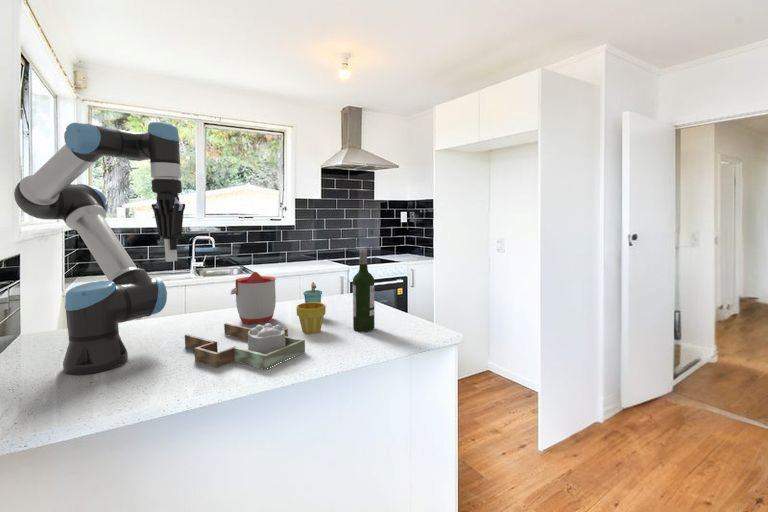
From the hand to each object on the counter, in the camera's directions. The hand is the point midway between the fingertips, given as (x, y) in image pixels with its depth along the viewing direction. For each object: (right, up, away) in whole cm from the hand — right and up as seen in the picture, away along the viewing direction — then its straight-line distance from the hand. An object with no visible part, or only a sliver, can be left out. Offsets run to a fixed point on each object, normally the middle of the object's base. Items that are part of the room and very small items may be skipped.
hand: (171, 260), depth 117 cm
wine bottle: (+55, -26, +32) cm, 69 cm away
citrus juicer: (+10, -25, +44) cm, 51 cm away
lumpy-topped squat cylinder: (+26, -29, +7) cm, 39 cm away
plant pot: (+36, -26, +30) cm, 53 cm away
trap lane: (+18, -28, +10) cm, 35 cm away
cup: (+33, -24, +49) cm, 64 cm away
